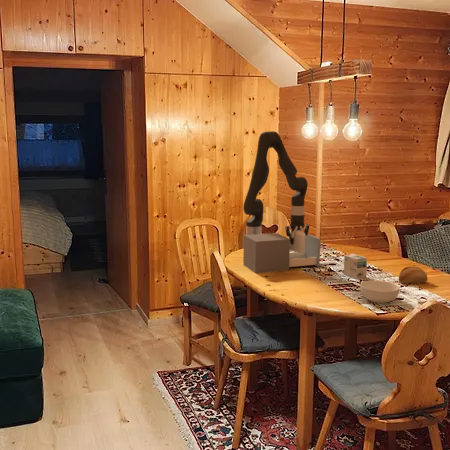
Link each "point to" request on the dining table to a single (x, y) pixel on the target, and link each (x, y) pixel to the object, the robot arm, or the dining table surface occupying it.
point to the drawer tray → (307, 253)
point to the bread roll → (412, 275)
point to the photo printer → (298, 242)
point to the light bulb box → (355, 266)
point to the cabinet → (266, 252)
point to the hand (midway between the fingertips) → (296, 243)
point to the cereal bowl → (379, 291)
